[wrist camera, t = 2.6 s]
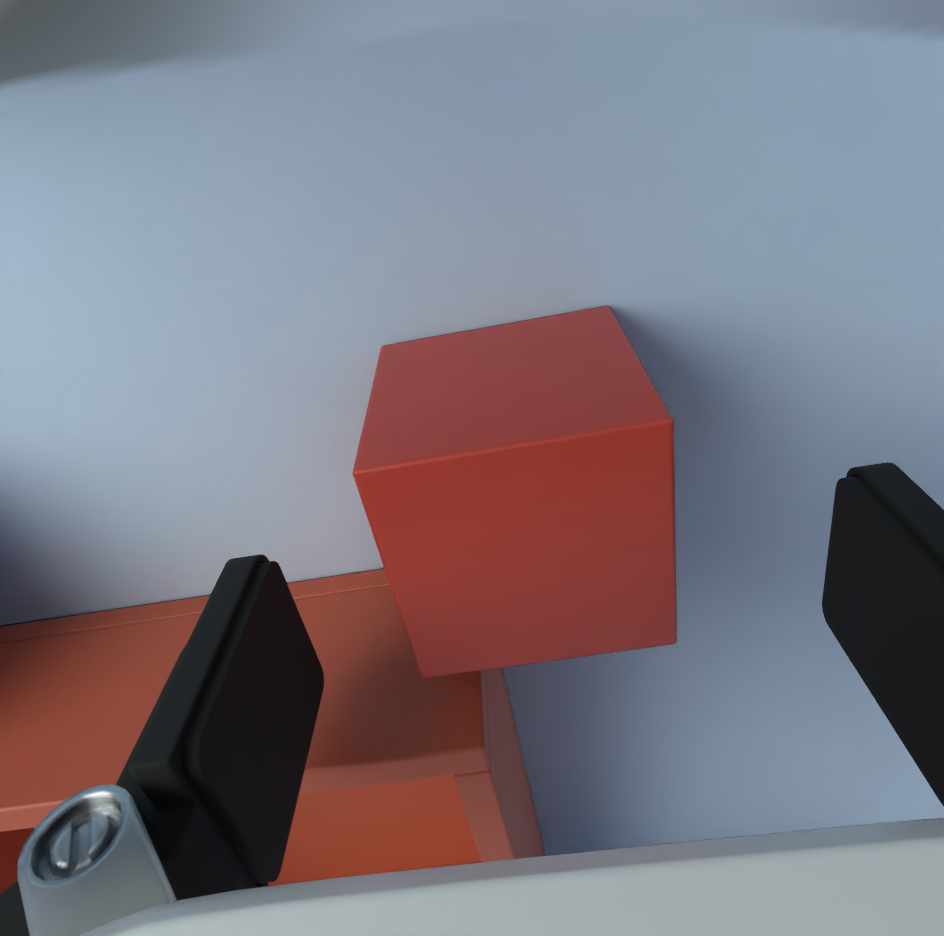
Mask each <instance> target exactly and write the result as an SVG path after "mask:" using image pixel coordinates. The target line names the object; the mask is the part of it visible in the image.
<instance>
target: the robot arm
mask: <svg viewBox="0 0 944 936" xmlns="http://www.w3.org/2000/svg"><path fill="white" fill-rule="evenodd" d="M822 608H823V614H824V617H825V620H826V622H827V624H828V626H829V628H830V629H831V631H832V632H833V634H834V635H835V637H836V639H837V640H838V642H839V643H840V645H841V646H842V648H843V650H844V651H845V653H846V654H847V656H848V657H849V659H850V661H851V662H852V664H853V665H854V667H855V668H856V670H857V672H858V673H859V675H860V676H861V678H862V679H863V681H864V683H865V684H866V686H867V687H868V689H869V690H870V692H871V694H872V695H873V697H874V698H875V700H876V701H877V703H878V705H879V706H880V708H881V709H882V711H883V712H884V714H885V716H886V717H887V719H888V720H889V722H890V723H891V725H892V727H893V728H894V730H895V731H896V733H897V734H898V736H899V738H900V739H901V741H902V742H903V744H904V745H905V747H906V749H907V750H908V752H909V753H910V755H911V756H912V758H913V760H914V761H915V763H916V764H917V766H918V767H919V769H920V771H921V772H922V774H923V775H924V777H925V778H926V780H927V782H928V783H929V785H930V786H931V788H932V789H933V791H934V793H935V794H936V796H937V797H938V799H939V800H940V802H941V803H942V805H943V806H944V510H943V509H942V508H941V507H940V506H939V505H938V504H937V503H936V502H935V501H934V500H932V499H931V498H930V497H929V496H928V495H927V494H926V493H925V492H924V491H923V490H922V489H921V488H920V487H919V486H918V485H917V484H916V483H914V482H913V481H912V480H911V479H910V478H909V477H908V476H907V475H906V474H905V473H904V472H903V471H902V470H901V469H900V468H899V467H898V466H896V465H895V464H893V463H881V464H874V465H867V466H860V467H854V468H851V469H850V470H849V471H848V473H847V476H846V478H841V479H839V480H838V482H837V485H836V491H835V499H834V507H833V516H832V524H831V532H830V540H829V549H828V557H827V565H826V574H825V582H824V590H823V599H822ZM323 689H324V673H323V669H322V666H321V663H320V661H319V659H318V656H317V654H316V651H315V649H314V647H313V644H312V642H311V640H310V637H309V635H308V632H307V630H306V628H305V625H304V623H303V621H302V618H301V616H300V613H299V611H298V609H297V606H296V604H295V601H294V599H293V597H292V594H291V592H290V590H289V587H288V585H287V582H286V580H285V578H284V575H283V573H282V571H281V568H280V566H279V564H278V563H277V562H275V561H271V562H269V560H268V559H267V558H266V557H265V556H264V555H255V556H248V557H241V558H234V559H230V560H228V562H227V563H226V564H225V567H224V569H223V571H222V573H221V575H220V577H219V579H218V581H217V583H216V585H215V587H214V589H213V591H212V593H211V595H210V597H209V599H208V601H207V603H206V605H205V607H204V609H203V611H202V613H201V616H200V618H199V620H198V622H197V624H196V626H195V628H194V630H193V632H192V634H191V636H190V638H189V640H188V642H187V644H186V645H185V647H184V648H183V650H182V651H181V653H180V655H179V657H178V659H177V661H176V663H175V665H174V667H173V669H172V671H171V673H170V675H169V677H168V679H167V681H166V683H165V685H164V687H163V689H162V692H161V694H160V696H159V698H158V700H157V702H156V704H155V706H154V708H153V710H152V712H151V714H150V716H149V718H148V720H147V722H146V724H145V726H144V728H143V730H142V732H141V734H140V736H139V738H138V740H137V742H136V744H135V746H134V748H133V750H132V752H131V754H130V756H129V758H128V761H127V763H126V765H125V767H124V769H123V771H122V773H121V775H120V777H119V779H118V781H117V783H116V785H98V786H95V787H92V788H89V789H85V790H83V791H81V792H79V793H77V794H75V795H73V796H72V797H70V798H68V799H66V800H65V801H63V802H62V803H61V804H60V805H58V806H57V807H56V808H54V809H53V810H52V811H51V812H49V813H48V814H47V816H46V817H45V818H44V819H43V820H42V821H41V822H40V823H39V824H38V825H37V826H36V827H35V829H34V830H33V832H32V833H31V835H30V836H29V838H28V839H27V841H26V843H25V844H24V846H23V849H22V852H21V854H20V857H19V860H18V872H17V877H18V881H16V882H15V883H14V884H12V885H11V886H10V887H8V888H7V889H6V890H4V891H3V892H2V893H0V936H944V818H937V819H924V820H912V821H899V822H887V823H877V824H866V825H856V826H845V827H835V828H824V829H814V830H803V831H793V832H782V833H772V834H761V835H750V836H740V837H730V838H719V839H709V840H699V841H688V842H678V843H668V844H658V845H648V846H638V847H628V848H618V849H608V850H598V851H589V852H579V853H569V854H559V855H549V856H539V857H529V858H520V859H510V860H500V861H490V862H481V863H472V864H462V865H453V866H443V867H434V868H424V869H415V870H406V871H396V872H387V873H377V874H368V875H359V876H349V877H340V878H331V879H323V880H315V881H307V882H299V883H291V884H283V885H275V886H268V884H269V882H275V881H276V880H277V878H278V877H279V875H280V871H281V868H282V864H283V859H284V855H285V851H286V847H287V842H288V838H289V834H290V830H291V825H292V821H293V817H294V813H295V808H296V804H297V800H298V796H299V791H300V787H301V783H302V779H303V774H304V770H305V766H306V762H307V757H308V753H309V749H310V745H311V740H312V736H313V732H314V728H315V723H316V719H317V715H318V711H319V706H320V702H321V698H322V694H323Z"/></svg>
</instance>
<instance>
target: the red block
mask: <svg viewBox="0 0 944 936" xmlns="http://www.w3.org/2000/svg"><path fill="white" fill-rule="evenodd" d="M353 476H354V479H355V482H356V485H357V488H358V491H359V494H360V497H361V500H362V503H363V506H364V509H365V512H366V515H367V518H368V521H369V524H370V527H371V530H372V533H373V536H374V539H375V541H376V544H377V547H378V550H379V553H380V556H381V559H382V562H383V565H384V568H385V571H386V574H387V577H388V580H389V583H390V586H391V589H392V592H393V595H394V598H395V601H396V604H397V607H398V610H399V613H400V616H401V619H402V622H403V625H404V628H405V631H406V634H407V637H408V640H409V643H410V646H411V649H412V652H413V655H414V658H415V661H416V664H417V667H418V670H419V673H420V676H421V677H422V678H431V677H438V676H445V675H453V674H460V673H467V672H474V671H482V670H489V669H496V668H503V667H511V666H518V665H525V664H532V663H540V662H547V661H554V660H562V659H569V658H576V657H583V656H591V655H598V654H605V653H612V652H620V651H627V650H634V649H641V648H649V647H656V646H663V645H670V644H675V643H676V641H677V612H676V543H675V475H674V420H673V419H672V417H671V415H670V413H669V411H668V410H667V408H666V406H665V404H664V403H663V401H662V399H661V397H660V395H659V394H658V392H657V390H656V388H655V386H654V385H653V383H652V381H651V379H650V377H649V376H648V374H647V372H646V370H645V369H644V367H643V365H642V363H641V361H640V360H639V358H638V356H637V354H636V352H635V351H634V349H633V347H632V345H631V344H630V342H629V340H628V338H627V336H626V335H625V333H624V331H623V329H622V327H621V326H620V324H619V322H618V320H617V319H616V317H615V315H614V313H613V311H612V310H611V308H610V306H603V307H598V308H592V309H586V310H581V311H575V312H570V313H564V314H558V315H553V316H547V317H542V318H536V319H530V320H525V321H519V322H514V323H508V324H502V325H497V326H491V327H485V328H480V329H474V330H469V331H463V332H457V333H452V334H446V335H441V336H435V337H429V338H424V339H418V340H413V341H407V342H401V343H396V344H390V345H385V346H382V347H381V351H380V355H379V359H378V364H377V368H376V373H375V377H374V381H373V386H372V390H371V394H370V399H369V403H368V408H367V412H366V416H365V421H364V425H363V429H362V434H361V438H360V443H359V447H358V451H357V456H356V460H355V464H354V469H353Z"/></svg>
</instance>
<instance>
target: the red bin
mask: <svg viewBox="0 0 944 936" xmlns="http://www.w3.org/2000/svg"><path fill="white" fill-rule="evenodd" d="M287 585H288V587H289V590H290V592H291V594H292V597H293V599H294V601H295V604H296V606H297V609H298V611H299V613H300V616H301V618H302V621H303V623H304V625H305V628H306V630H307V632H308V635H309V637H310V640H311V642H312V644H313V647H314V649H315V651H316V654H317V656H318V659H319V661H320V663H321V666H322V669H323V673H324V689H323V694H322V698H321V702H320V706H319V711H318V715H317V719H316V723H315V728H314V732H313V736H312V740H311V745H310V749H309V753H308V757H307V762H306V766H305V770H304V774H303V779H302V783H301V787H300V791H299V796H298V800H297V804H296V808H295V813H294V817H293V821H292V825H291V830H290V834H289V838H288V842H287V847H286V851H285V855H284V859H283V864H282V868H281V871H280V875H279V877H278V878H277V880H276V881H275V882H269V884H268V886H275V885H283V884H291V883H299V882H307V881H315V880H323V879H331V878H340V877H349V876H359V875H368V874H377V873H387V872H396V871H406V870H415V869H424V868H434V867H443V866H453V865H462V864H472V863H481V862H490V861H500V860H510V859H520V858H529V857H539V856H544V847H543V843H542V839H541V834H540V830H539V826H538V821H537V817H536V813H535V808H534V804H533V800H532V795H531V791H530V787H529V782H528V778H527V774H526V769H525V765H524V761H523V756H522V752H521V748H520V743H519V739H518V735H517V730H516V726H515V721H514V717H513V713H512V708H511V704H510V700H509V695H508V691H507V687H506V682H505V678H504V674H503V669H502V668H496V669H489V670H482V671H474V672H467V673H460V674H453V675H445V676H438V677H431V678H422V677H421V676H420V673H419V670H418V667H417V664H416V661H415V658H414V655H413V652H412V649H411V646H410V643H409V640H408V637H407V634H406V631H405V628H404V625H403V622H402V619H401V616H400V613H399V610H398V607H397V604H396V601H395V598H394V595H393V592H392V589H391V586H390V583H389V580H388V577H387V574H386V571H385V569H379V570H372V571H365V572H359V573H352V574H346V575H339V576H332V577H326V578H319V579H313V580H306V581H299V582H293V583H287ZM209 597H210V595H207V596H200V597H194V598H187V599H181V600H174V601H167V602H161V603H154V604H148V605H141V606H134V607H128V608H121V609H115V610H108V611H101V612H95V613H88V614H82V615H75V616H68V617H62V618H55V619H49V620H42V621H35V622H29V623H22V624H16V625H9V626H2V627H0V893H2V892H3V891H4V890H6V889H7V888H8V887H10V886H11V885H12V884H14V883H15V882H16V881H18V877H17V872H18V860H19V857H20V854H21V852H22V849H23V846H24V844H25V843H26V841H27V839H28V838H29V836H30V835H31V833H32V832H33V830H34V829H35V827H36V826H37V825H38V824H39V823H40V822H41V821H42V820H43V819H44V818H45V817H46V816H47V814H48V813H49V812H51V811H52V810H53V809H54V808H56V807H57V806H58V805H60V804H61V803H62V802H63V801H65V800H66V799H68V798H70V797H72V796H73V795H75V794H77V793H79V792H81V791H83V790H85V789H89V788H92V787H95V786H98V785H116V783H117V781H118V779H119V777H120V775H121V773H122V771H123V769H124V767H125V765H126V763H127V761H128V758H129V756H130V754H131V752H132V750H133V748H134V746H135V744H136V742H137V740H138V738H139V736H140V734H141V732H142V730H143V728H144V726H145V724H146V722H147V720H148V718H149V716H150V714H151V712H152V710H153V708H154V706H155V704H156V702H157V700H158V698H159V696H160V694H161V692H162V689H163V687H164V685H165V683H166V681H167V679H168V677H169V675H170V673H171V671H172V669H173V667H174V665H175V663H176V661H177V659H178V657H179V655H180V653H181V651H182V650H183V648H184V647H185V645H186V644H187V642H188V640H189V638H190V636H191V634H192V632H193V630H194V628H195V626H196V624H197V622H198V620H199V618H200V616H201V613H202V611H203V609H204V607H205V605H206V603H207V601H208V599H209Z"/></svg>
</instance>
